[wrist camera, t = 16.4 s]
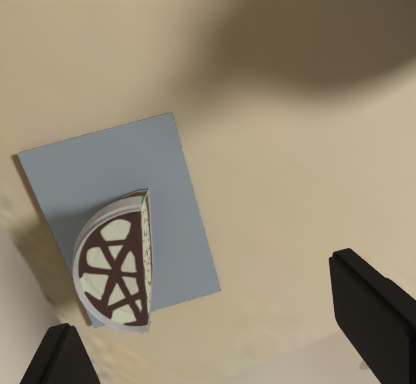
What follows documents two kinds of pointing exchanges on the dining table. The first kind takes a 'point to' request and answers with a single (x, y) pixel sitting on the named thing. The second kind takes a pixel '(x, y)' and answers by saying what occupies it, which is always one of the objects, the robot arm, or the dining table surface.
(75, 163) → the slate mat
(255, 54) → the dining table surface
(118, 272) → the food container
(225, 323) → the dining table surface
